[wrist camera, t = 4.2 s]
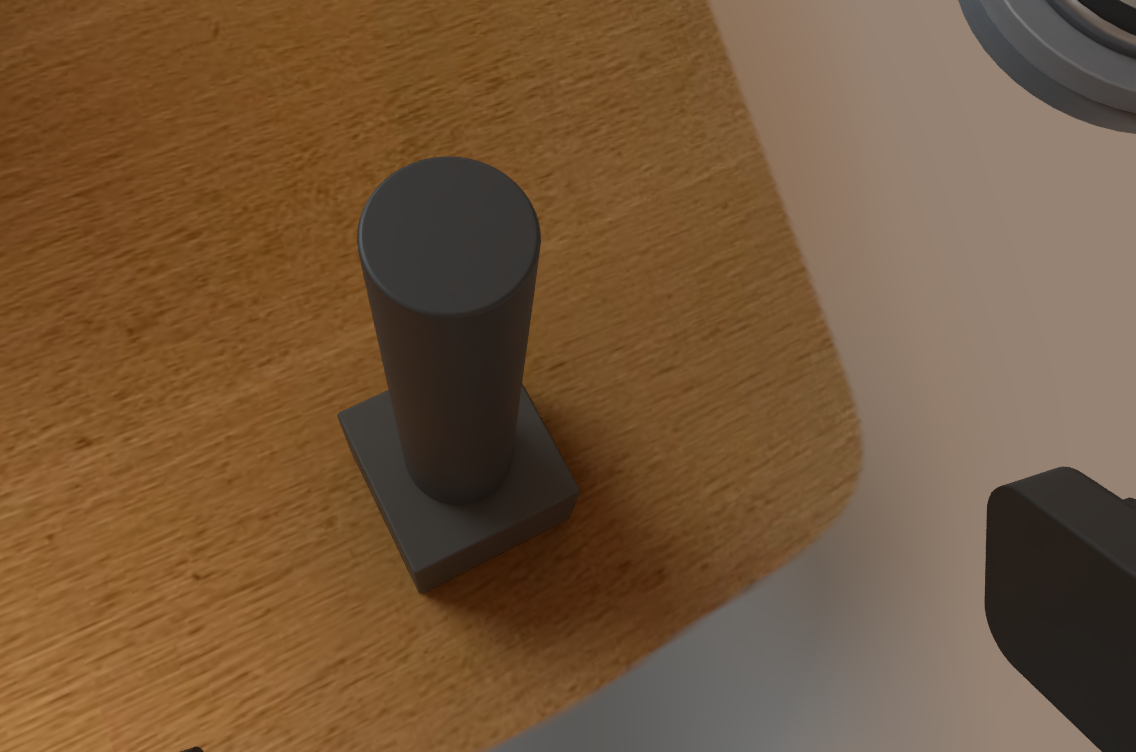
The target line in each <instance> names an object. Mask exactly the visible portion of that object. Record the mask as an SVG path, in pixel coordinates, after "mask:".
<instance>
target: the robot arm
mask: <svg viewBox="0 0 1136 752" xmlns="http://www.w3.org/2000/svg"><path fill="white" fill-rule="evenodd" d="M1046 1H1047V2H1048V3H1049V4H1050V5H1051V6H1052V7H1053V8H1054V9H1055V10H1056V11H1057V12H1058V13H1059V14H1060V15H1061V16H1062V17H1063V18H1064V19H1065V20H1066V21H1068V22H1069V23H1070V24H1071V25H1072V26H1074V27H1075V28H1077V29H1078V30H1079V31H1081V32H1082V33H1084V34H1085V35H1087V36H1088V37H1090V38H1092V39H1093V40H1095V41H1097V42H1099V43H1100V44H1102V45H1104V46H1106V47H1108V48H1110V49H1113V50H1115V51H1117V52H1120V53H1122V54H1125V55H1128V56H1130V57H1133V58H1136V0H1046ZM985 612H986V617H987V621H988V624H989V628H990V630H991V633H992V635H993V637H994V639H995V641H996V643H997V645H998V647H999V649H1000V650H1001V651H1002V653H1003V655H1004V656H1005V657H1006V658H1007V660H1008V661H1009V662H1010V663H1011V664H1012V665H1013V667H1014V668H1016V669H1017V670H1018V671H1019V672H1020V673H1021V674H1022V675H1023V676H1024V677H1025V678H1026V679H1027V680H1028V681H1029V682H1030V683H1031V684H1032V685H1033V686H1034V687H1035V688H1036V689H1038V691H1039V692H1041V694H1043V695H1044V696H1045V697H1046V698H1047V699H1048V700H1049V701H1050V702H1051V703H1052V704H1053V705H1054V706H1055V707H1056V708H1057V709H1058V710H1059V711H1060V712H1061V713H1062V714H1063V715H1064V716H1065V717H1066V718H1067V719H1069V720H1070V721H1071V722H1072V723H1073V724H1074V725H1075V726H1076V727H1077V728H1078V729H1079V730H1080V731H1081V732H1082V733H1083V734H1084V735H1085V736H1086V737H1087V738H1088V739H1089V740H1090V741H1091V742H1092V743H1093V744H1094V745H1095V746H1097V747H1098V748H1099V749H1100V750H1101V751H1102V752H1136V499H1133V498H1127V499H1124V500H1123V499H1121V498H1120V497H1118V496H1116V495H1115V494H1113V493H1112V492H1110V491H1108V490H1107V489H1106V488H1104V487H1103V486H1101V485H1100V484H1098V483H1097V482H1095V481H1094V480H1092V479H1091V478H1089V477H1087V476H1086V475H1084V474H1083V473H1081V472H1080V471H1078V470H1076V469H1073V468H1070V467H1059V468H1055V469H1052V470H1049V471H1046V472H1043V473H1040V474H1037V475H1034V476H1031V477H1028V478H1025V479H1022V480H1019V481H1015V482H1012V483H1009V484H1006V485H1003V486H1000V487H998V488H996V489H995V490H994V491H993V492H992V493H991V495H990V497H989V500H988V504H987V530H986V570H985ZM181 752H203V750H202V749H201V748H199V747H193V748H190V749H187V750H184V751H181Z"/></svg>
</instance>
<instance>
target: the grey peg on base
mask: <svg viewBox="0 0 1136 752" xmlns="http://www.w3.org/2000/svg"><path fill="white" fill-rule="evenodd" d="M357 243H358V252H359V256H360V261H361V265H362V270H363V274H364V279H365V284H366V288H367V293H368V297H369V302H370V306H371V311H372V316H373V320H374V325H375V329H376V334H377V338H378V343H379V347H380V352H381V357H382V361H383V366H384V370H385V375H386V379H387V384H388V389H389V390H388V391H385V392H383V393H381V394H379V395H377V396H374V397H372V398H370V399H368V400H366V401H363V402H361V403H359V404H357V405H354V406H352V407H350V408H348V409H346V410H343V411H341V412H339V413H338V414H337V416H338V419H339V421H340V424H341V427H342V429H343V432H344V434H345V437H346V440H347V442H348V445H349V448H350V450H351V452H352V454H353V456H354V458H355V460H356V463H357V465H358V467H359V469H360V471H361V473H362V475H363V477H364V479H365V481H366V483H367V486H368V488H369V490H370V492H371V494H372V496H373V498H374V500H375V502H376V504H377V506H378V508H379V511H380V513H381V515H382V517H383V519H384V521H385V523H386V525H387V527H388V529H389V531H390V534H391V536H392V538H393V540H394V542H395V544H396V546H397V548H398V550H399V552H400V554H401V556H402V559H403V561H404V563H405V565H406V567H407V569H408V571H409V573H410V575H411V577H412V579H413V581H414V584H415V586H416V588H417V590H418V592H419V593H420V594H422V593H424V592H426V591H428V590H430V589H432V588H434V587H436V586H438V585H440V584H442V583H444V582H446V581H448V580H450V579H452V578H454V577H456V576H458V575H460V574H462V573H464V572H466V571H468V570H470V569H472V568H474V567H476V566H478V565H480V564H481V563H483V562H485V561H487V560H489V559H491V558H493V557H495V556H497V555H499V554H501V553H503V552H505V551H507V550H509V549H511V548H513V547H515V546H517V545H519V544H521V543H523V542H525V541H527V540H529V539H531V538H533V537H535V536H537V535H539V534H540V533H542V532H544V531H546V530H548V529H550V528H552V527H554V526H556V525H558V524H560V523H562V522H564V521H566V520H568V519H569V518H570V515H571V513H572V510H573V508H574V505H575V503H576V500H577V498H578V495H579V493H580V489H579V487H578V485H577V483H576V481H575V480H574V478H573V476H572V474H571V472H570V470H569V469H568V467H567V465H566V463H565V461H564V459H563V457H562V456H561V454H560V452H559V450H558V448H557V446H556V445H555V443H554V441H553V439H552V437H551V435H550V434H549V432H548V430H547V428H546V426H545V424H544V422H543V421H542V419H541V417H540V415H539V413H538V411H537V410H536V408H535V406H534V404H533V402H532V400H531V399H530V397H529V395H528V393H527V391H526V389H525V387H524V386H523V384H522V379H523V372H524V364H525V357H526V349H527V342H528V335H529V327H530V320H531V312H532V305H533V297H534V290H535V282H536V275H537V267H538V260H539V252H540V244H541V234H540V227H539V221H538V218H537V215H536V212H535V210H534V208H533V206H532V204H531V202H530V200H529V199H528V197H527V196H526V194H525V193H524V192H523V191H522V189H521V188H520V187H519V186H518V185H517V184H516V183H515V182H514V181H513V180H512V179H510V178H509V177H508V176H507V175H505V174H504V173H502V172H501V171H499V170H498V169H496V168H494V167H492V166H490V165H487V164H485V163H482V162H480V161H476V160H472V159H468V158H461V157H435V158H429V159H424V160H420V161H417V162H414V163H411V164H409V165H407V166H405V167H403V168H401V169H399V170H398V171H396V172H394V173H393V174H391V175H390V176H389V177H388V178H386V179H385V180H384V181H383V182H382V183H381V184H380V185H379V186H378V187H377V188H376V189H375V191H374V192H373V193H372V195H371V196H370V198H369V199H368V201H367V203H366V205H365V207H364V208H363V211H362V214H361V217H360V220H359V225H358V234H357Z"/></svg>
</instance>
